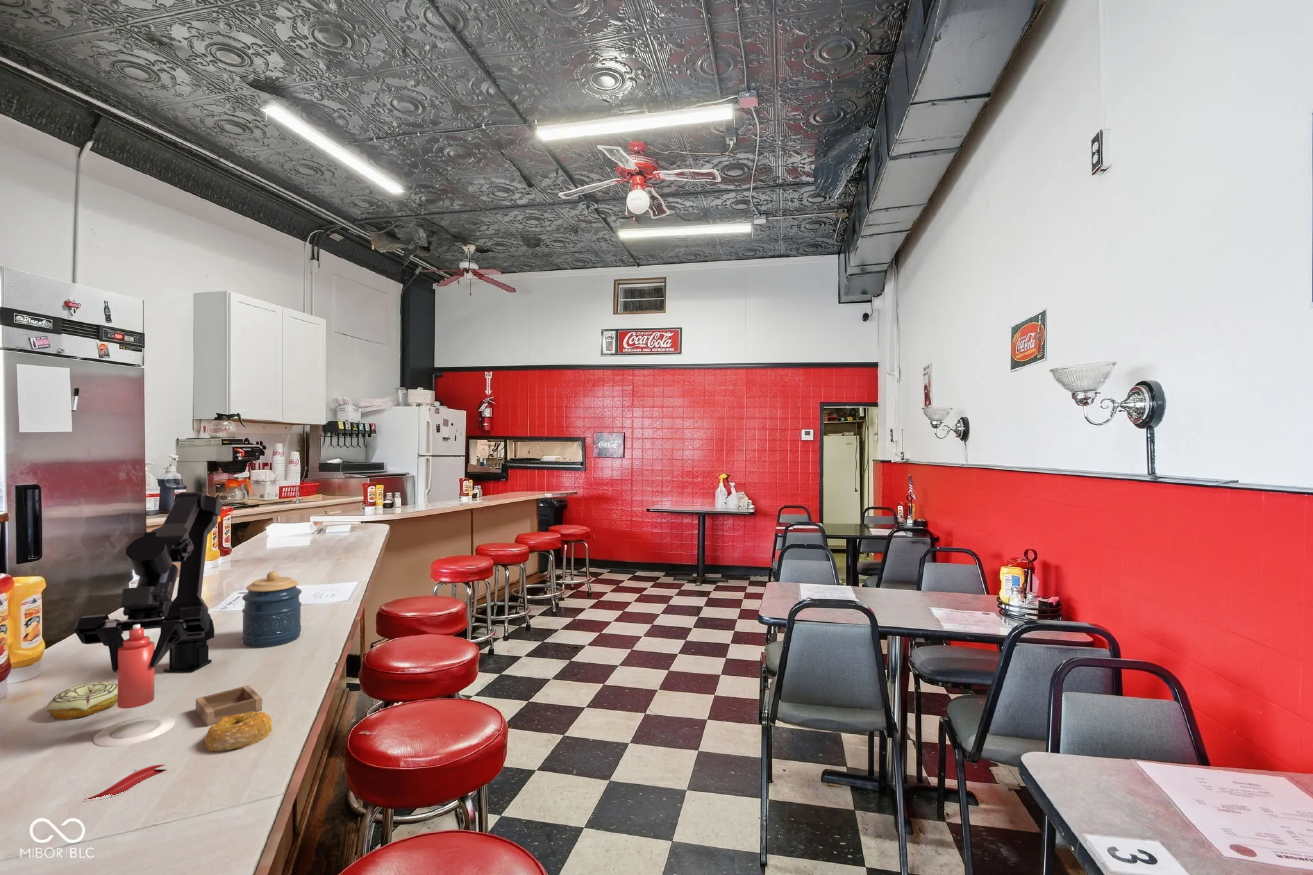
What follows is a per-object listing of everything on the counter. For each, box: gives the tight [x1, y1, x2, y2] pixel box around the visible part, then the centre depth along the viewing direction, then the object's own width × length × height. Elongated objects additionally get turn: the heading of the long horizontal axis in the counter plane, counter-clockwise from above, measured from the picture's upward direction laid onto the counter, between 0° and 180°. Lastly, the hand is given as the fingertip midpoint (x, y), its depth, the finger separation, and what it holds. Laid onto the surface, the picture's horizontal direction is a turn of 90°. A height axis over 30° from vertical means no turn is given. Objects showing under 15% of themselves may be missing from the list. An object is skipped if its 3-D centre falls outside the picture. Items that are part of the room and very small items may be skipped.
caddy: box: [195, 685, 263, 727], centre depth 117 cm, size 9×9×3 cm
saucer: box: [93, 714, 176, 747], centre depth 109 cm, size 11×11×1 cm
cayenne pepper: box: [84, 764, 168, 800], centre depth 94 cm, size 12×5×2 cm, turn 140°
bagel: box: [204, 711, 273, 752], centre depth 107 cm, size 10×11×5 cm
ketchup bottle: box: [117, 624, 156, 710], centre depth 109 cm, size 5×5×14 cm
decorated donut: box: [45, 681, 118, 721], centre depth 118 cm, size 10×11×4 cm
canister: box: [241, 570, 303, 648], centre depth 158 cm, size 13×13×18 cm
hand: (133, 668), depth 107 cm, fingers closed on ketchup bottle, 5 cm apart
